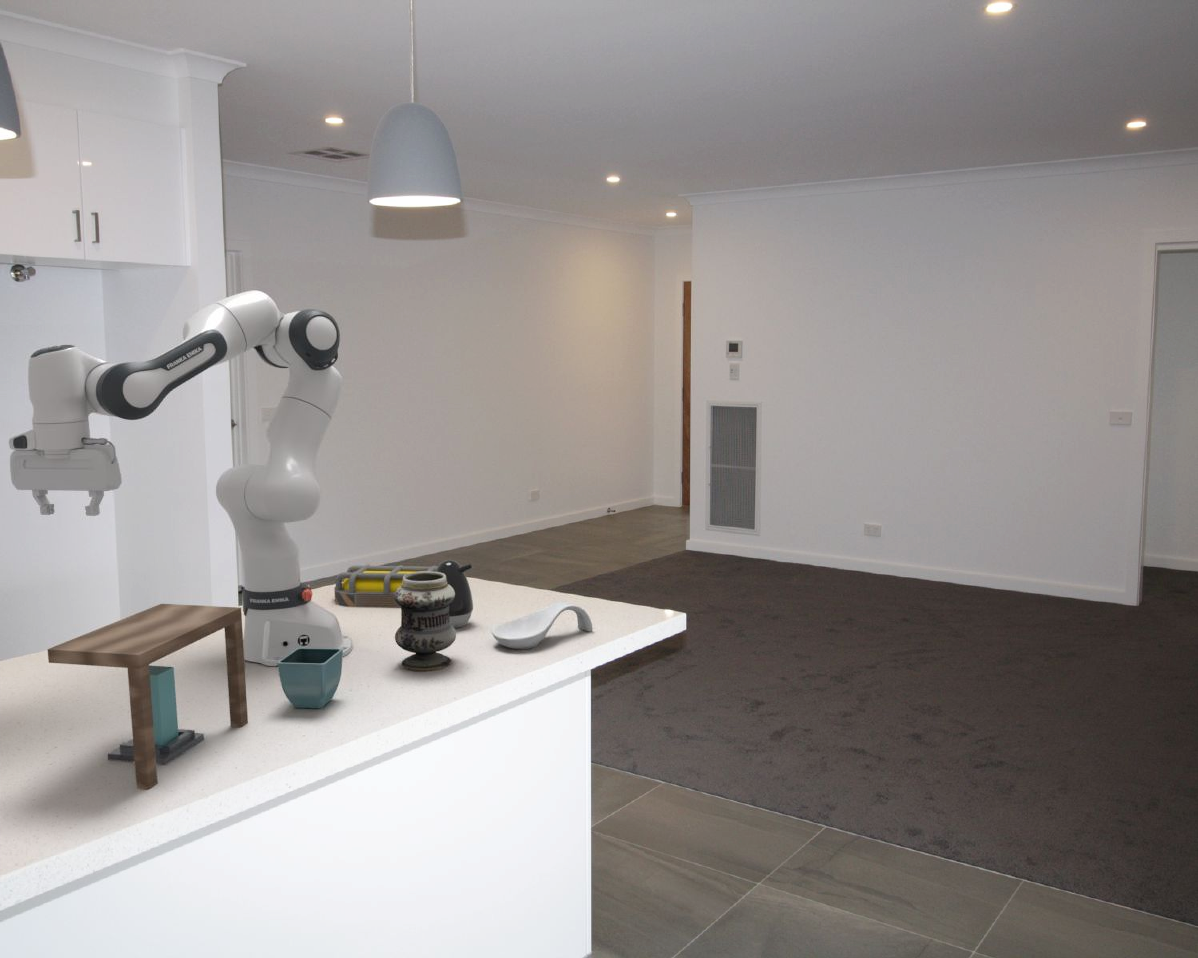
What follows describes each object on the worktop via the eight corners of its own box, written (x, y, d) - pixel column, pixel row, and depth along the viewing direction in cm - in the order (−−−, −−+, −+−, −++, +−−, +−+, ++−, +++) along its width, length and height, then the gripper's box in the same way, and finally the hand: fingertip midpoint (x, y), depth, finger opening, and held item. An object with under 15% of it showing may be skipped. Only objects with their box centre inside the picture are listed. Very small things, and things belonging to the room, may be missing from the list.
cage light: (444, 577, 241) (324, 575, 244) (445, 609, 242) (326, 607, 245) (459, 563, 255) (345, 562, 258) (460, 594, 256) (347, 592, 259)
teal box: (134, 746, 157) (129, 673, 156) (151, 737, 161) (145, 665, 160) (163, 749, 156) (157, 675, 155) (178, 739, 160) (173, 666, 158)
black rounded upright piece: (467, 632, 221) (465, 565, 219) (422, 631, 223) (419, 564, 221) (479, 620, 231) (478, 555, 229) (436, 618, 233) (434, 554, 231)
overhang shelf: (58, 780, 148) (47, 649, 145) (169, 716, 173) (161, 603, 170) (148, 789, 144) (138, 654, 142) (247, 722, 170) (241, 607, 167)
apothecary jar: (437, 676, 192) (434, 584, 190) (383, 669, 197) (380, 579, 194) (467, 657, 204) (465, 571, 201) (416, 651, 208) (413, 566, 206)
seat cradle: (108, 759, 155) (107, 747, 155) (149, 734, 165) (148, 723, 164) (165, 764, 153) (164, 752, 153) (204, 739, 163) (203, 727, 162)
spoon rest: (513, 658, 204) (512, 623, 203) (481, 645, 213) (481, 612, 212) (602, 636, 219) (602, 604, 218) (569, 624, 228) (569, 594, 227)
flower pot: (278, 711, 175) (275, 662, 173) (300, 694, 183) (297, 646, 182) (326, 714, 173) (323, 663, 172) (346, 696, 182) (343, 648, 181)
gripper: (125, 436, 178) (132, 512, 180) (27, 436, 183) (35, 510, 185) (100, 440, 172) (108, 519, 174) (0, 439, 176) (8, 517, 178)
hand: (70, 514), depth 179 cm, fingers open, 8 cm apart
